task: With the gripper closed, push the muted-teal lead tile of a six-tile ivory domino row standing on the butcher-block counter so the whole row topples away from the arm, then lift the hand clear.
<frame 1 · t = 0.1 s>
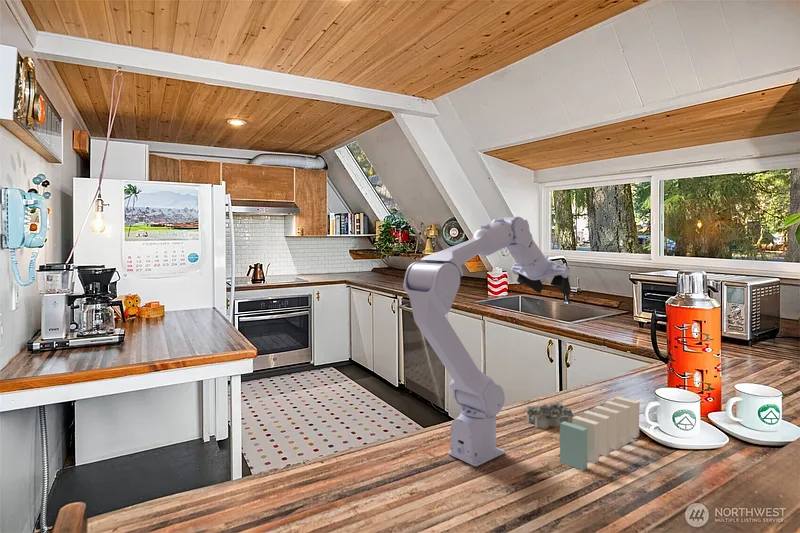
hand: (554, 291, 118), 32 cm above the countertop, tool tilted 50°, fingers open, 7 cm apart
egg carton: (549, 423, 119), on the countertop
domino 6: (626, 433, 111), on the countertop
domino 3: (596, 451, 103), on the countertop
domino 2: (585, 458, 100), on the countertop
domino 1: (573, 464, 97), on the countertop
domino 5: (616, 439, 108), on the countertop
domino 4: (606, 445, 106), on the countertop
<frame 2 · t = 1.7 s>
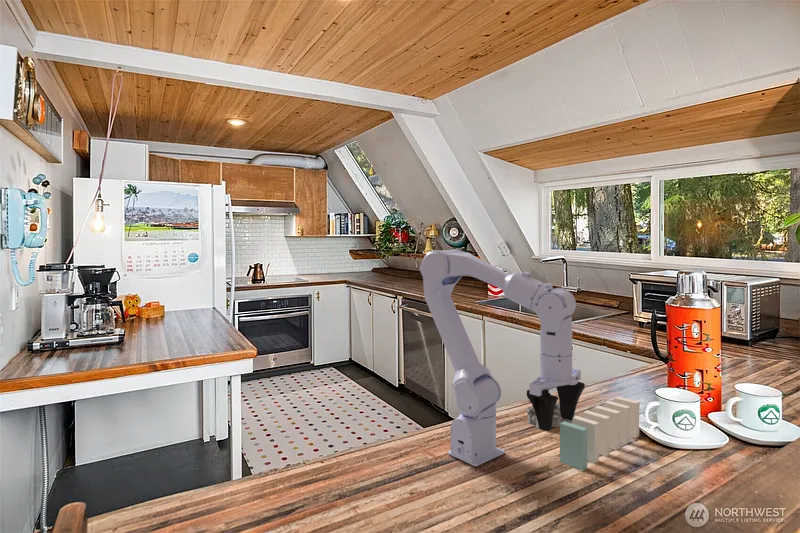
hand: (556, 424, 92), 10 cm above the countertop, tool pointing down, fingers open, 7 cm apart
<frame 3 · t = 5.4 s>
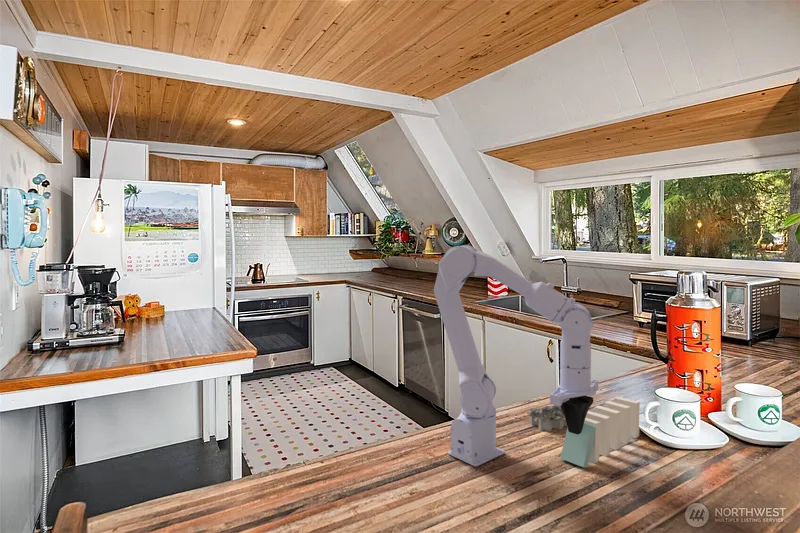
hand: (574, 432, 97), 7 cm above the countertop, tool pointing down, fingers closed
domino 1: (573, 463, 97), on the countertop, tilted 24°
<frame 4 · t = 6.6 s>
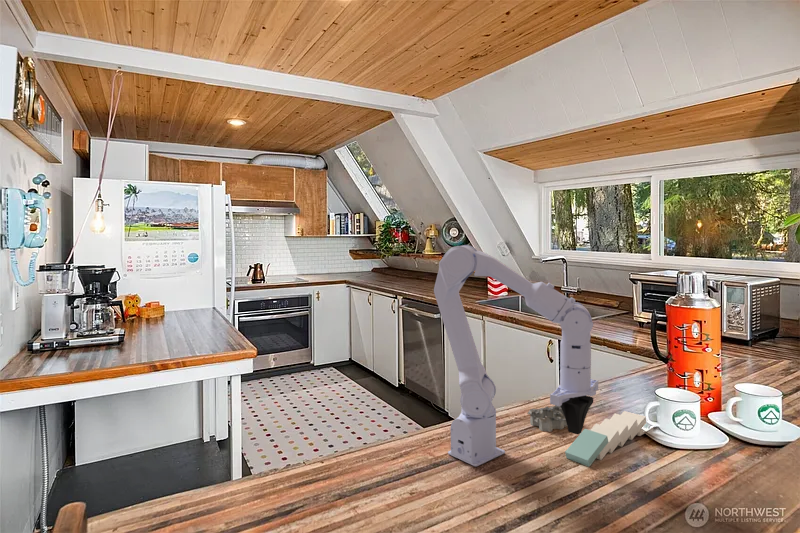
hand: (574, 432, 97), 6 cm above the countertop, tool pointing down, fingers closed
domino 6: (628, 432, 112), on the countertop, tilted 90°
domino 3: (599, 446, 103), point 1 cm above the countertop, tilted 69°, touching domino 2, domino 4
domino 2: (589, 452, 101), point 1 cm above the countertop, tilted 69°, touching domino 1, domino 3
domino 1: (576, 459, 98), point 1 cm above the countertop, tilted 69°, touching domino 2
domino 5: (619, 433, 110), point 1 cm above the countertop, tilted 76°, touching domino 4
domino 4: (610, 440, 106), point 1 cm above the countertop, tilted 70°, touching domino 3, domino 5
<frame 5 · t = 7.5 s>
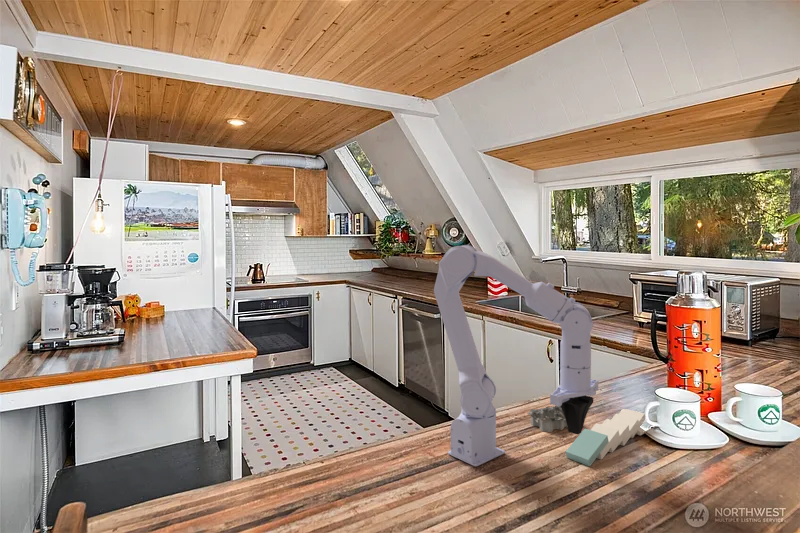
hand: (574, 432, 97), 6 cm above the countertop, tool pointing down, fingers closed
domino 6: (629, 431, 112), on the countertop, tilted 90°, touching domino 5
domino 5: (620, 432, 110), point 1 cm above the countertop, tilted 75°, touching domino 4, domino 6
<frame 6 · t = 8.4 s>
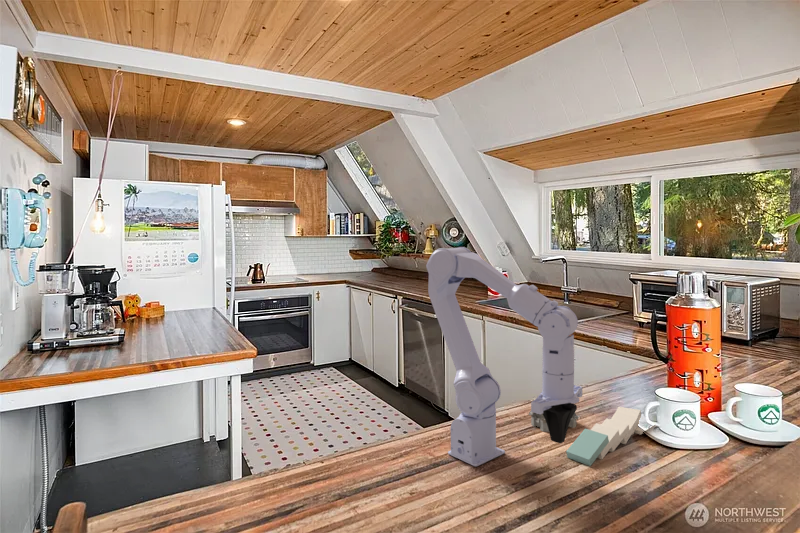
hand: (557, 441, 93), 6 cm above the countertop, tool pointing down, fingers closed
domino 5: (620, 429, 112), point 1 cm above the countertop, tilted 75°, touching domino 6
domino 4: (613, 438, 107), point 1 cm above the countertop, tilted 72°, touching domino 3
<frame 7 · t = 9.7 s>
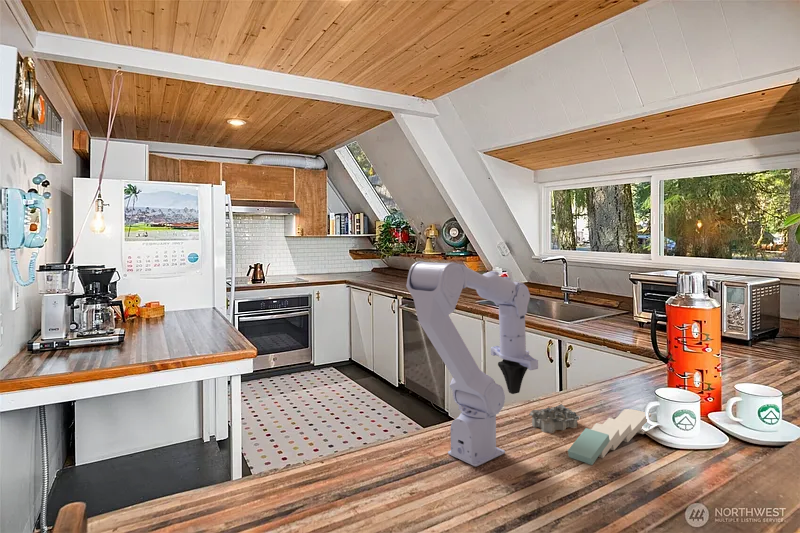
hand: (514, 392, 111), 10 cm above the countertop, tool pointing down, fingers closed
domino 3: (602, 443, 105), point 1 cm above the countertop, tilted 72°, touching domino 4
domino 2: (590, 451, 101), point 1 cm above the countertop, tilted 72°, touching domino 1
domino 1: (579, 457, 98), point 1 cm above the countertop, tilted 71°, touching domino 2
domino 5: (628, 424, 113), point 2 cm above the countertop, tilted 89°, touching domino 6
domino 4: (616, 435, 109), point 1 cm above the countertop, tilted 68°, touching domino 3
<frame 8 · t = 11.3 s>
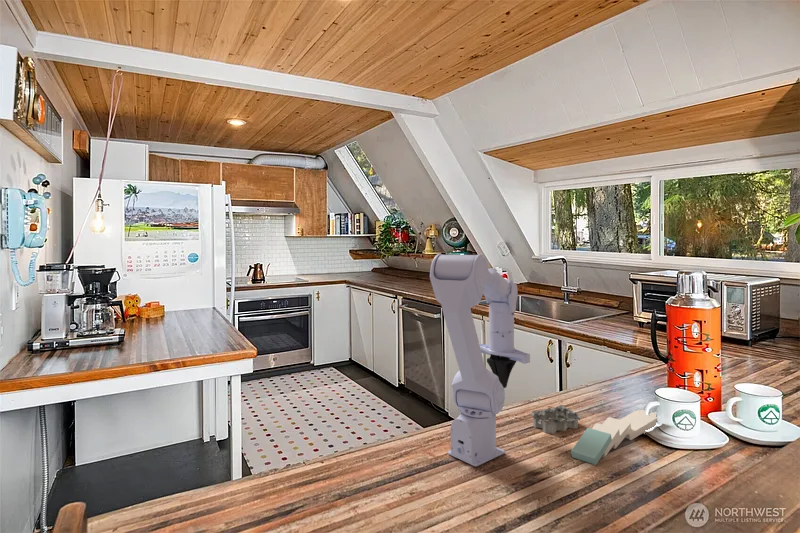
hand: (501, 387, 115), 10 cm above the countertop, tool pointing down, fingers closed
domino 3: (603, 442, 106), point 1 cm above the countertop, tilted 74°, touching domino 2
domino 2: (592, 450, 102), point 1 cm above the countertop, tilted 73°, touching domino 1, domino 3
domino 1: (583, 457, 98), point 1 cm above the countertop, tilted 71°, touching domino 2
domino 5: (636, 424, 113), point 1 cm above the countertop, tilted 90°, touching domino 6
domino 4: (621, 432, 110), point 1 cm above the countertop, tilted 73°
at the end: domino 6 tilted 90°; domino 1 tilted 71°; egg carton moved 2.8 cm from its start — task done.
